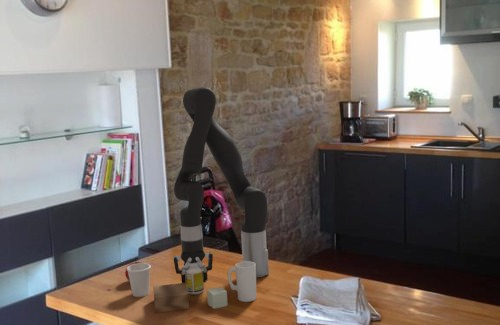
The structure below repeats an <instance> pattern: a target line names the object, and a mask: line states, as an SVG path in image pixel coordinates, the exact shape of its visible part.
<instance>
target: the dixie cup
mask: <svg viewBox="0 0 500 325" xmlns="http://www.w3.org/2000/svg"><path fill="white" fill-rule="evenodd" d="M129 265H130V264H129ZM151 267H152V266H151V264H149V263H147V262H146V263H145V262H142V263H137V264H133V265H130V266H128V265H127V267H126V268H127V270H128V275H129V280H130V281H129V280H128V281H129V284H130V288H131V293H132V296H133V297H136V298H141V297H142V298H143V297H145V296H148V295H149V294H150V278H151Z"/></svg>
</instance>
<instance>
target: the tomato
mask: <svg viewBox="0 0 500 325" xmlns="http://www.w3.org/2000/svg"><path fill="white" fill-rule="evenodd" d="M137 263H143V262H141V261H135V262H131V263H129V264H128V265H127V267H128V266H130V265H133V264H137ZM127 267H126V269H125V272H124V274H125V278H126V279H127V281H128V282H130V280H129V275H128V270H127Z"/></svg>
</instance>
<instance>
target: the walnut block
mask: <svg viewBox="0 0 500 325" xmlns="http://www.w3.org/2000/svg"><path fill="white" fill-rule="evenodd" d="M152 286H153V287H152V288H153V289H152V290H153V300H154V302H153V303H154V312H155V313H156V314H157V313H165V312H173V311H182V310H189V309H190V303H189V294H188V291H187V287H186V283H182V282H179V283H172V284H171V283H170V284H163V285H162V284H161V285H152Z"/></svg>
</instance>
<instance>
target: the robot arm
mask: <svg viewBox="0 0 500 325" xmlns="http://www.w3.org/2000/svg"><path fill="white" fill-rule="evenodd" d="M182 105H183V107H184V109H185V111H186V113H187V115H188V116H189V118H190V119H191V120H192V122H193V124H192V128H191V131H190V132H189V136H188V138H187V140H186V142H185V145H184V149H183V155H182V161H181V163H182V164H181V168H180V170H179V172H178V175H177V177H176V180H175V183H174V186H173V193H174V196H175V198H176V199H177V200H178V201H183V202H184V201H185V202H188V204H187V205H188V206H186V207H183V208H181V210H180V212H179V216H180V219H179V220H180V242H181V253H180V255H173V257H172V259H173V264H174V270H175V273H176V274H177V275H180V280H181V283H186V275H185V272H186V270H187V268H188V266H189V264H190V263H196V262H198V264H199V265H200V267H201V268H202V269H203V281H204V284H205V283H207V281H208V280H209V279H208V278H209V277H208V272H209V271H212V270H213V258H214V257H213V256H214V254H213V253H212V251H209V252H205V251H204V240H203V236H204V234H203V228H202V218H201V211H202V208H203V207H202V206H203V202H204V196H205V190H204V186H203V185H202V184H201V182H199V181H197V180H196V181H195V180H193V177H194V176H195V175H196V176H197V175H199V174H201V173H202V170H203V163H204V156H205V155H204V154H205V147H206V146H207V147H208V149H209V151H210V154H211V155H212V158H213V159H214V160H215V163H216V164H217V166H218V168H219V170H220V171H221V173H222V175H223V176H224V178H225V179H226V181H227V183H228V185H229V187H230V189H231V192H232V195H233V198H234V199H235V201H236V204H237V206H238V207H239V208H240V209H241V210H242V211H244V220H242V222H241V224H240V231H241V232H240V233H241V234H240V235H241V236H240V237H241V250H242V251H241V253H242V254H241V255H242V256H241V257H242V262H243V261H250V262H254V263H255V264H256V265H255V266H256V279H257V278H261V277H262V278H263V277H265V276H269V275H270V268H269V251H268V249H267V234H266V231H267V230H266V226H267V222H268V199H267V195H266V194H265V192H264V191H263V190H261V189H259V188H255V187H254V186H253V185H252V184H251V183H250V181H249V179H248V177H247V175H246V174H245V171H244V167H243V160H242V159H243V158H242V154H241V153H240V151H239V148H238V146H237V144H236V143H235V141H234V139H233V138H232V136H231V135H230V134H229V133H228V132H227V130H225V129H224V128H223V127H222V126H221V125H220V124H218V122H217V121H216V119H215V118H214V117H213V115H214V113H215V108H216V105H217V97H216V94H215V92H214V91H213V90H212V89H211V88H210V87H205V86H204V87H203V86H202V87H198V88H197V87H196V88H192V89H189V90H187V91H185V93H184V94H183V97H182ZM205 257H206V259H207V261H208V262H207V266H206V265H205V263H204V262H203V259H204V258H205ZM180 261H183V264H182V267H181V269H180V268H179V267H180V266H179V263H180Z"/></svg>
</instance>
